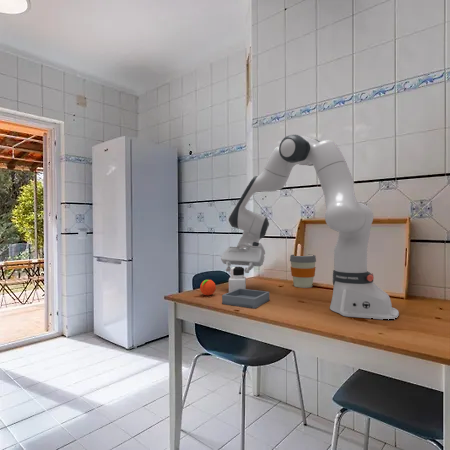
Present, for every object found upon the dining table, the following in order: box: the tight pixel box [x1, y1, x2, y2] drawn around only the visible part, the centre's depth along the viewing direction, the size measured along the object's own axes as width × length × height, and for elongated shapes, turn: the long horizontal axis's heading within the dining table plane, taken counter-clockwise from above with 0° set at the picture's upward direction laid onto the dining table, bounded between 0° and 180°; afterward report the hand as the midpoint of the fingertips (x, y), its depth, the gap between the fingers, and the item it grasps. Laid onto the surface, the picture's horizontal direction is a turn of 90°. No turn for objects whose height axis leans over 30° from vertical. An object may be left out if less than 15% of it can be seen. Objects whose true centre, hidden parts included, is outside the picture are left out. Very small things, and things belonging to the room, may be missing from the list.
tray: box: [221, 288, 270, 310], centre depth 130 cm, size 14×14×4 cm
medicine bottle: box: [228, 266, 247, 293], centre depth 145 cm, size 7×7×12 cm
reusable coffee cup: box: [289, 254, 317, 289], centre depth 161 cm, size 12×13×15 cm
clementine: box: [199, 279, 217, 297], centre depth 142 cm, size 8×7×7 cm
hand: (236, 271), depth 144 cm, fingers open, 8 cm apart
